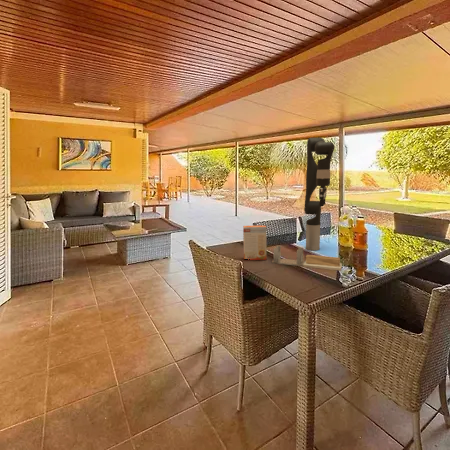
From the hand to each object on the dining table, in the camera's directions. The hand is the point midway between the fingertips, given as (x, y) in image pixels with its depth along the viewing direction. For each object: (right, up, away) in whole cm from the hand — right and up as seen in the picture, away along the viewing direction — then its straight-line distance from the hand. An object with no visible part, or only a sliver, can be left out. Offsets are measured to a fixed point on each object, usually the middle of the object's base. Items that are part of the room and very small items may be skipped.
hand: (322, 205), depth 177 cm
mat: (-2, -35, -7) cm, 36 cm away
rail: (-2, -34, -7) cm, 34 cm away
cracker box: (-39, -33, +10) cm, 52 cm away
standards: (-20, -34, +1) cm, 39 cm away
